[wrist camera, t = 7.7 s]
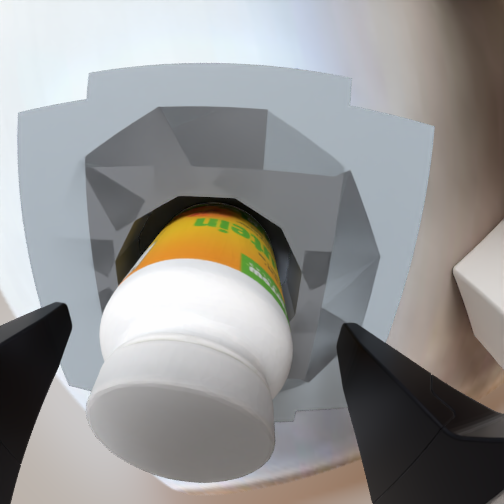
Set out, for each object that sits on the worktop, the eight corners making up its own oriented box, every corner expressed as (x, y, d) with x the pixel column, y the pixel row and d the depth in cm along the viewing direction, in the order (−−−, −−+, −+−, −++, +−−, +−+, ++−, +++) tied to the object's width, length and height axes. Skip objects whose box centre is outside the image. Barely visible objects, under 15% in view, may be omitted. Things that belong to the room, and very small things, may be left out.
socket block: (400, 104, 11) (436, 101, 9) (341, 381, 17) (353, 417, 15) (57, 92, 11) (19, 89, 8) (91, 364, 17) (74, 397, 14)
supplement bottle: (296, 238, 14) (370, 415, 5) (235, 323, 15) (230, 505, 6) (191, 177, 13) (77, 285, 4) (141, 274, 14) (48, 436, 5)
